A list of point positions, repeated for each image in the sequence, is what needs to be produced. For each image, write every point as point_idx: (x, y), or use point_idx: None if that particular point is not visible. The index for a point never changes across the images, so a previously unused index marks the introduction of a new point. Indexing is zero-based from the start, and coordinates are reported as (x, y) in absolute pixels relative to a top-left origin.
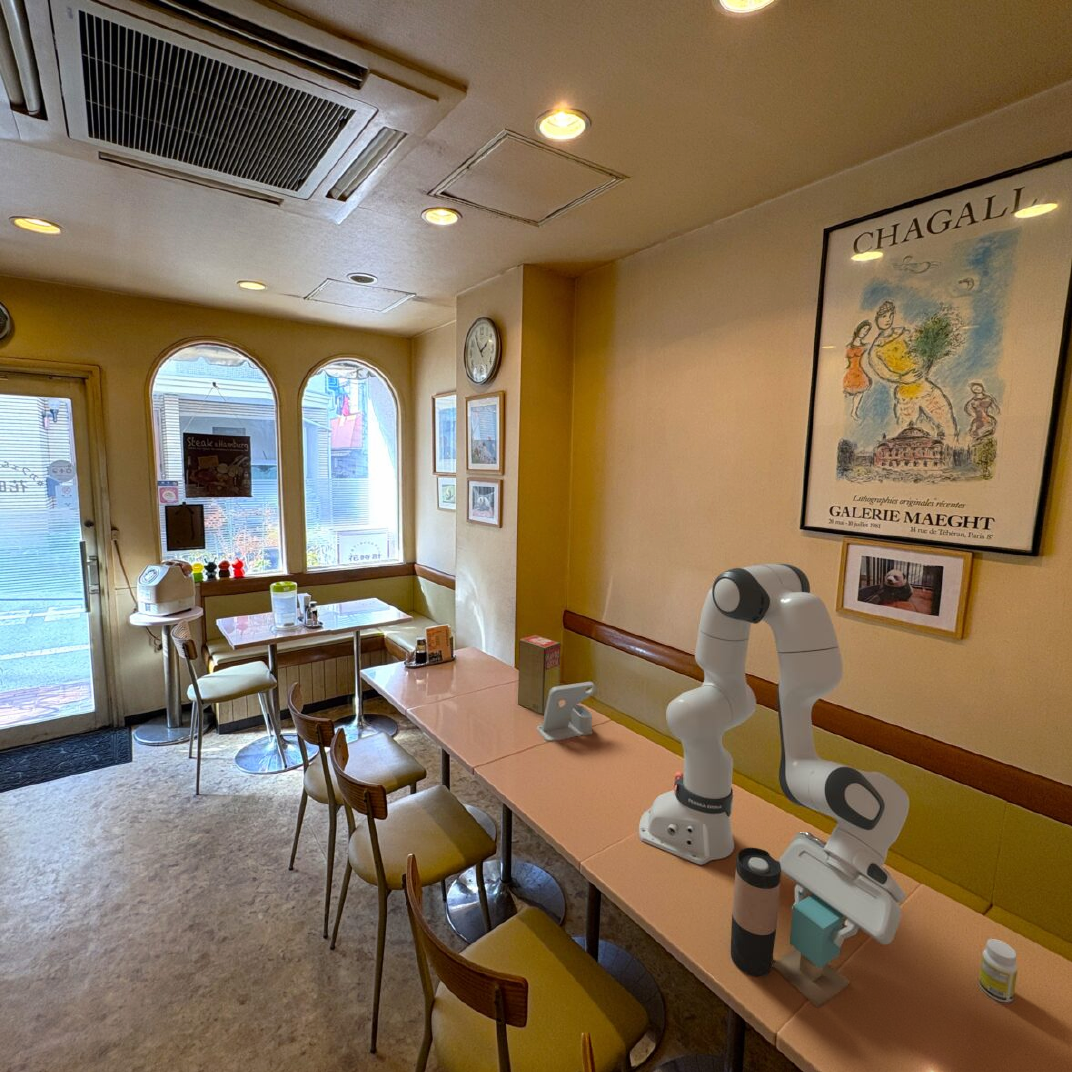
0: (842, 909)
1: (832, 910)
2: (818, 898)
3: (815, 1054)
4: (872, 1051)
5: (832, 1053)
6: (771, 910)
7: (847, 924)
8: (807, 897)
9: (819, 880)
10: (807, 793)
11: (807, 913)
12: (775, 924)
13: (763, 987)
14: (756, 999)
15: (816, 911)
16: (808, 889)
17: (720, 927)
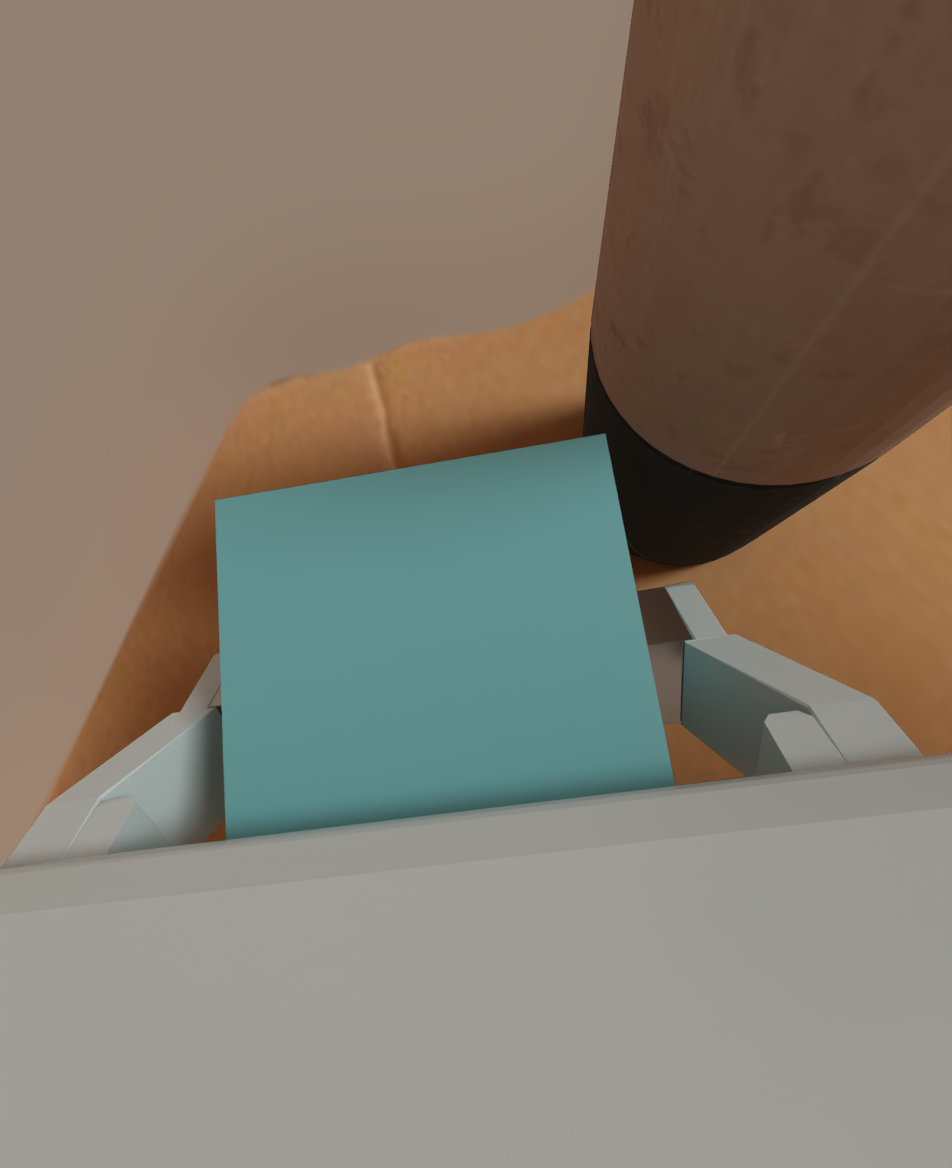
0: (100, 892)
1: None
2: None
3: (256, 429)
4: (167, 639)
5: (231, 489)
6: (618, 145)
7: (90, 813)
8: (662, 736)
9: (697, 1089)
10: None
11: (447, 511)
12: (611, 361)
13: (537, 434)
14: (503, 371)
15: (423, 637)
16: (716, 783)
17: (904, 457)
